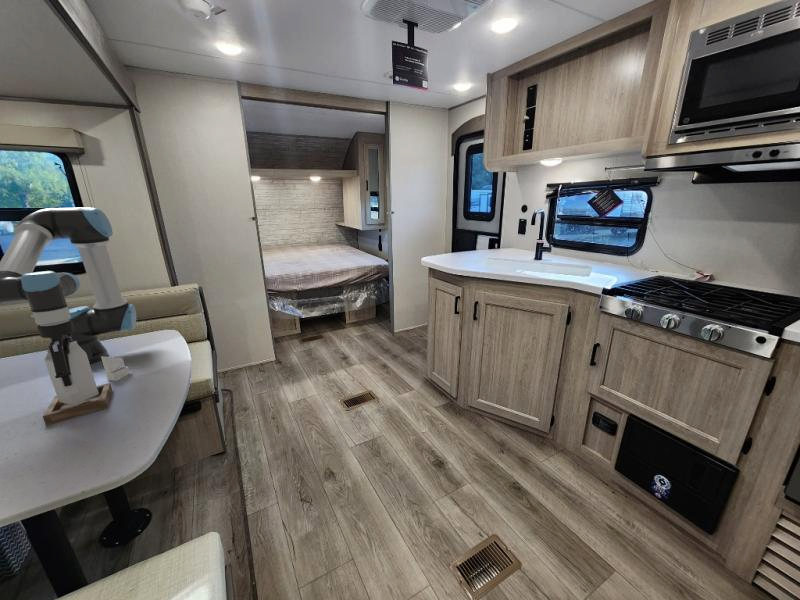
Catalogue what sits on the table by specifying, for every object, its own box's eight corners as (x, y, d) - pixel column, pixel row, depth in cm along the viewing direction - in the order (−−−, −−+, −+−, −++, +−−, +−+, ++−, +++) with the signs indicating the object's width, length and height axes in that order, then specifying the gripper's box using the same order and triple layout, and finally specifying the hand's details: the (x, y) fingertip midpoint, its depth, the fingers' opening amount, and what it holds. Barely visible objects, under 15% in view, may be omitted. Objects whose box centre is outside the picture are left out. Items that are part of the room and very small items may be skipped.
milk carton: (99, 394, 107) (83, 341, 102) (72, 406, 101) (53, 350, 96) (86, 391, 109) (69, 339, 104) (59, 402, 103) (40, 348, 98)
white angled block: (93, 380, 118) (100, 356, 120) (121, 380, 128) (127, 358, 130) (101, 380, 117) (108, 356, 119) (128, 381, 127) (134, 359, 129)
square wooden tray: (57, 404, 107) (54, 396, 107) (112, 390, 115) (110, 382, 114) (45, 425, 96) (42, 416, 96) (107, 408, 104) (104, 400, 103)
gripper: (47, 316, 105) (67, 377, 111) (24, 335, 87) (50, 407, 93) (78, 311, 109) (96, 370, 115) (62, 329, 91) (85, 398, 97)
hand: (75, 387), depth 104 cm, fingers closed on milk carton, 10 cm apart
